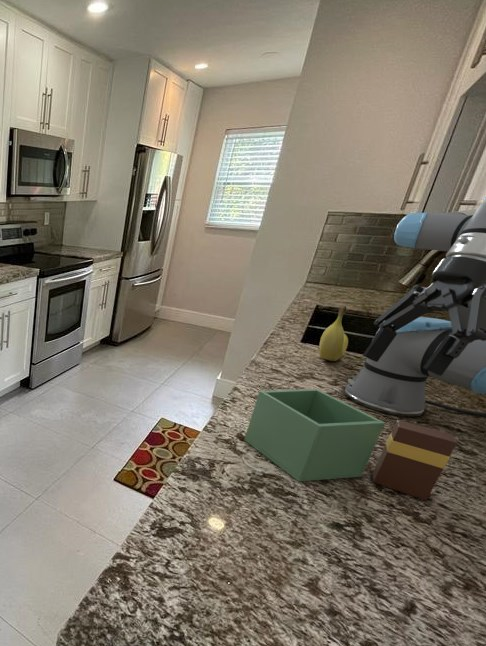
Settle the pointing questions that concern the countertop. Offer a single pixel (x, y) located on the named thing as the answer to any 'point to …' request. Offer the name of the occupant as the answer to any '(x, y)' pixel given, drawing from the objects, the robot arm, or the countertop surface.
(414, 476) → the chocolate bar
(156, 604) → the countertop surface
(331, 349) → the banana
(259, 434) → the trash bin
